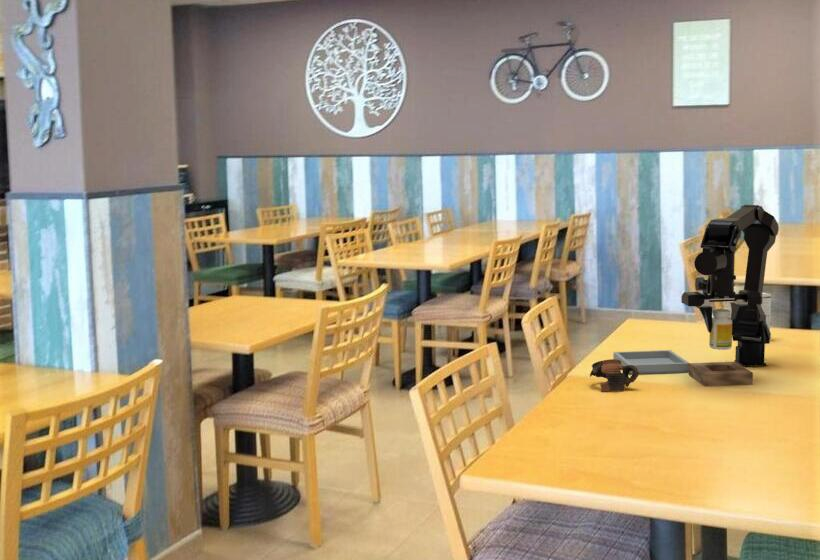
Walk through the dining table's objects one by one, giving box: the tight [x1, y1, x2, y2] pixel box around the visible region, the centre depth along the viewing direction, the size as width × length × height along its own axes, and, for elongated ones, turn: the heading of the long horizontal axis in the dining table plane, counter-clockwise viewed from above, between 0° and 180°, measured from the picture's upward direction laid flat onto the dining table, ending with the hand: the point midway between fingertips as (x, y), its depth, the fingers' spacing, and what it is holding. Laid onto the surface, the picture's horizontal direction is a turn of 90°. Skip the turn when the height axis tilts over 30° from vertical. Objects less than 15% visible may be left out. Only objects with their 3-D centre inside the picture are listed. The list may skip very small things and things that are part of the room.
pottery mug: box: [589, 359, 640, 393], centre depth 242 cm, size 12×10×8 cm
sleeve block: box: [688, 361, 754, 387], centre depth 247 cm, size 12×12×3 cm
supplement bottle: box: [708, 308, 733, 351], centre depth 245 cm, size 5×5×10 cm
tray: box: [612, 349, 690, 376], centre depth 262 cm, size 16×16×2 cm
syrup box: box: [760, 292, 772, 338], centre depth 290 cm, size 6×6×14 cm
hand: (720, 331), depth 245 cm, fingers closed on supplement bottle, 5 cm apart
